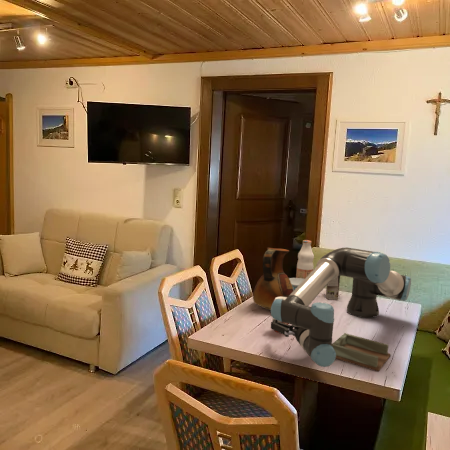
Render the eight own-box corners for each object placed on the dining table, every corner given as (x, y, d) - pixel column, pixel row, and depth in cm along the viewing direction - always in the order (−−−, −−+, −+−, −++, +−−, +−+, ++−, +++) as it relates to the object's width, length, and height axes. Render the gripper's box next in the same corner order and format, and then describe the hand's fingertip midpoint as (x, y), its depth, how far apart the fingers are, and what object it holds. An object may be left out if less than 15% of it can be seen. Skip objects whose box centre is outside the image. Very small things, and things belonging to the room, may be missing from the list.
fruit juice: (294, 289, 249) (298, 241, 245) (295, 285, 258) (299, 238, 254) (311, 291, 247) (315, 242, 243) (311, 286, 256) (315, 240, 252)
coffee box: (338, 300, 232) (340, 270, 230) (326, 299, 234) (328, 269, 231) (337, 295, 241) (339, 267, 239) (325, 294, 243) (327, 265, 240)
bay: (339, 341, 177) (340, 331, 176) (390, 356, 166) (391, 344, 165) (324, 355, 164) (325, 343, 163) (378, 371, 152) (379, 359, 152)
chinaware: (283, 290, 246) (284, 277, 245) (310, 292, 245) (311, 278, 244) (284, 298, 231) (285, 284, 230) (313, 300, 230) (314, 286, 229)
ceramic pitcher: (298, 306, 219) (303, 248, 214) (281, 317, 202) (286, 254, 198) (264, 298, 229) (267, 242, 225) (245, 308, 212) (248, 248, 208)
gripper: (274, 349, 153) (259, 327, 173) (340, 347, 157) (318, 326, 178) (275, 329, 152) (260, 309, 172) (342, 328, 156) (319, 308, 177)
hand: (289, 317), depth 175 cm, fingers open, 13 cm apart
